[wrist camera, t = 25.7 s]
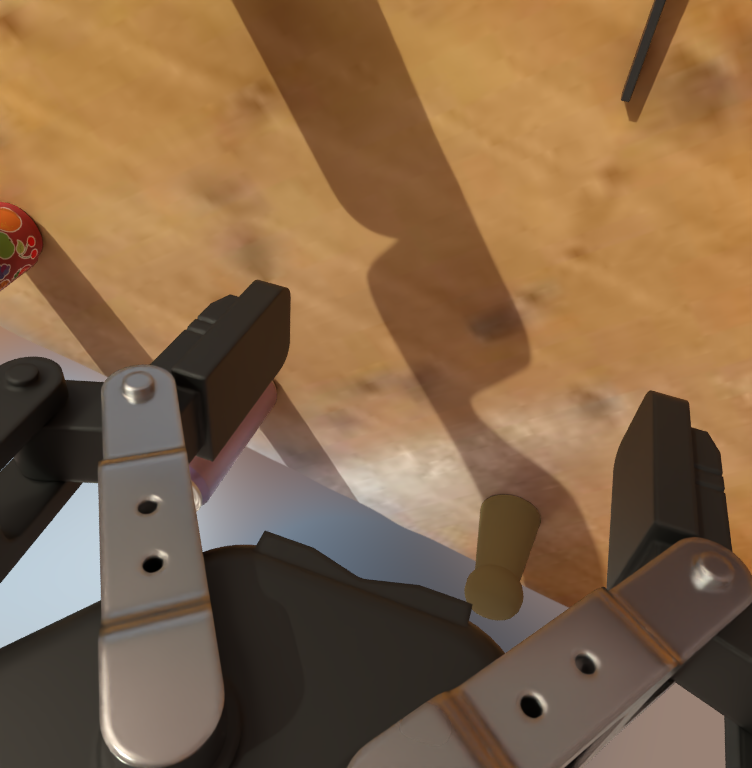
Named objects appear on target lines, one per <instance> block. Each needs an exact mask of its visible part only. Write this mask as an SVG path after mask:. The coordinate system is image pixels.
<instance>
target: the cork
mask: <svg viewBox="0 0 752 768" xmlns="http://www.w3.org/2000/svg"><path fill="white" fill-rule="evenodd" d="M540 523H541V518H540V514H539V512H538V511H537V509H536V508H535V507H534V506H533V505H532V504H531V503H530V502H528V501H526V500H524V499H522V498H519V497H516V496H513V495H496V496H492V497H490V498H488V499H486V500H485V501H484V502H483V503H482V506H481V509H480V520H479V532H478V543H477V554H476V566H475V570H474V571H473V572H472V573H471V574H470V575H469V577H468V578H467V582H466V586H465V598H466V601H467V602H468V603H471V604H473V605H472V610H473V611H474V612H476V613H477V614H479V615H481V616H483V617H485V618H488V619H492V620H506V619H510V618H512V617H513V616H514V615H515V614H517V613H518V611H519V609H520V607H521V605H522V602H523V590H522V585H521V583H520V580H521V577H522V574H523V571H524V568H525V566H526V563H527V560H528V557H529V554H530V551H531V548H532V546H533V543H534V540H535V537H536V534H537V531H538V528H539V526H540Z"/></svg>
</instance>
